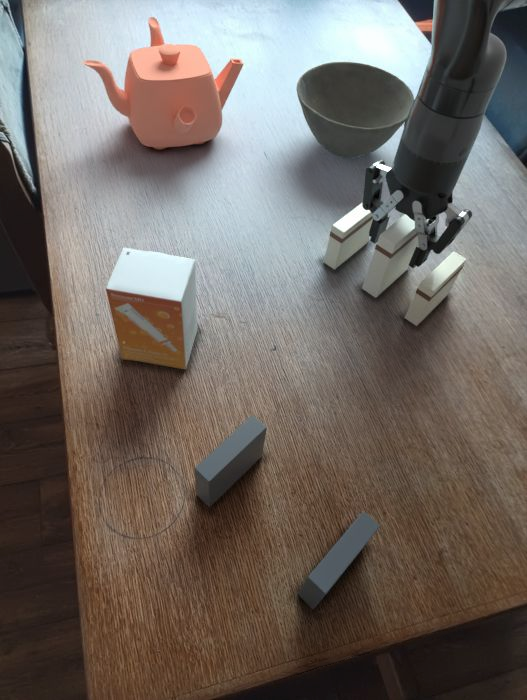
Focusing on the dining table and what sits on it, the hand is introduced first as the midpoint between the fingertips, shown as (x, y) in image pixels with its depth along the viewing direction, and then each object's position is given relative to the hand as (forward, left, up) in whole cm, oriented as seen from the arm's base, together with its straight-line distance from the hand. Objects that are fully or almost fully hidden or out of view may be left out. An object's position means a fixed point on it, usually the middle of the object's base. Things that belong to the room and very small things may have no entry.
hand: (395, 251), depth 72 cm
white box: (0, 0, -5) cm, 5 cm away
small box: (+13, +30, -6) cm, 33 cm away
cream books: (0, 0, -5) cm, 5 cm away
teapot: (+46, -1, -6) cm, 46 cm away
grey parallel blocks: (-12, +36, -5) cm, 38 cm away
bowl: (+23, -20, -6) cm, 31 cm away
